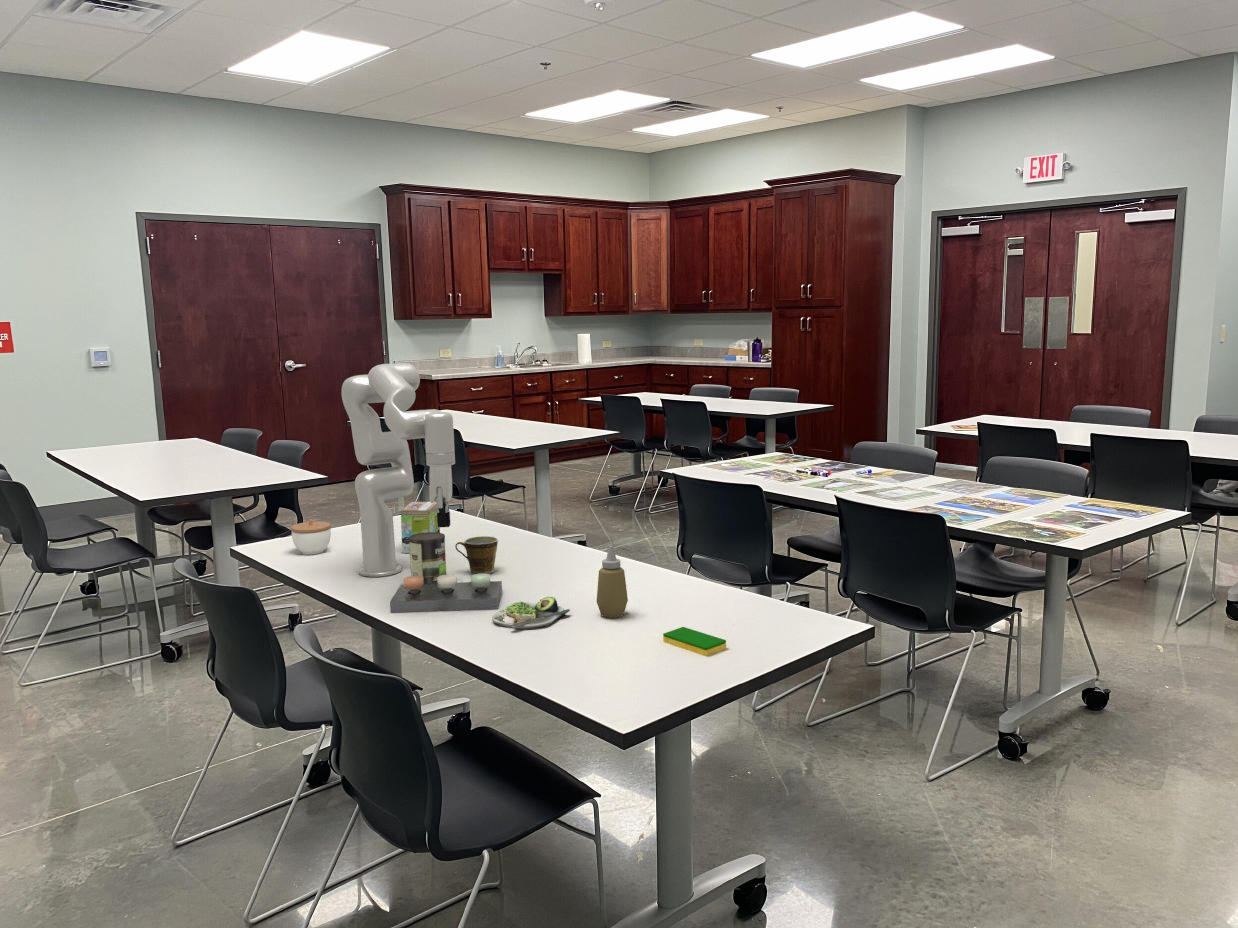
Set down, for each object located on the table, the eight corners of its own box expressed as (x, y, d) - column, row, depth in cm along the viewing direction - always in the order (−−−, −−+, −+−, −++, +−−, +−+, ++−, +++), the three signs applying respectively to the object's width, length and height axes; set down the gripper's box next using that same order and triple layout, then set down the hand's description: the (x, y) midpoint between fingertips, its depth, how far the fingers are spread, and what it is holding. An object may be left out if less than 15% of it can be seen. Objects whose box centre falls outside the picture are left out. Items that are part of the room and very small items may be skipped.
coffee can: (452, 578, 274) (450, 532, 272) (439, 588, 264) (436, 540, 262) (420, 577, 276) (417, 531, 274) (405, 587, 266) (402, 539, 264)
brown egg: (406, 594, 254) (405, 575, 253) (425, 594, 254) (424, 575, 253) (403, 600, 248) (402, 581, 248) (422, 599, 249) (421, 580, 248)
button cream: (439, 593, 254) (438, 574, 253) (458, 593, 254) (457, 574, 253) (436, 599, 249) (435, 580, 248) (456, 598, 249) (455, 579, 248)
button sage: (472, 592, 254) (471, 573, 254) (491, 592, 255) (490, 573, 254) (470, 598, 249) (469, 578, 248) (490, 597, 250) (489, 578, 249)
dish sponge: (706, 658, 208) (706, 647, 207) (662, 643, 218) (662, 633, 217) (727, 650, 213) (727, 639, 212) (683, 635, 223) (683, 626, 222)
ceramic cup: (502, 567, 285) (501, 536, 283) (494, 576, 275) (493, 544, 273) (461, 567, 286) (459, 536, 285) (452, 576, 276) (450, 544, 275)
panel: (401, 594, 259) (401, 584, 259) (502, 591, 260) (501, 581, 260) (390, 612, 243) (389, 601, 243) (497, 609, 245) (497, 598, 244)
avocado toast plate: (542, 637, 223) (542, 619, 222) (477, 629, 230) (477, 611, 229) (575, 613, 241) (575, 596, 240) (514, 606, 247) (514, 589, 247)
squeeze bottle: (605, 621, 233) (603, 552, 230) (591, 613, 240) (589, 545, 237) (633, 616, 236) (632, 547, 233) (619, 607, 243) (617, 541, 241)
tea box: (432, 553, 305) (429, 509, 302) (401, 553, 305) (399, 509, 303) (441, 542, 320) (439, 500, 317) (412, 542, 320) (409, 500, 317)
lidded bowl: (317, 545, 318) (314, 514, 317) (340, 550, 311) (338, 518, 309) (284, 553, 308) (282, 521, 306) (308, 558, 301) (305, 525, 299)
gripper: (430, 455, 253) (434, 521, 256) (421, 463, 238) (425, 533, 241) (458, 454, 253) (461, 520, 256) (451, 462, 238) (454, 532, 241)
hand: (444, 526), depth 248 cm, fingers closed
